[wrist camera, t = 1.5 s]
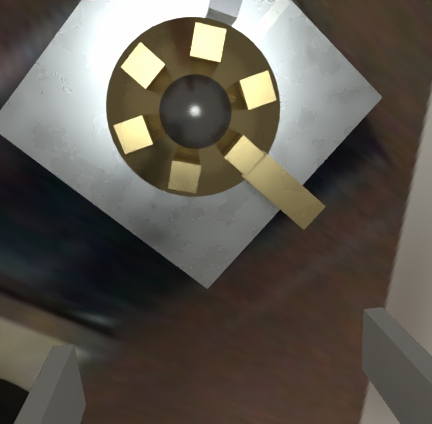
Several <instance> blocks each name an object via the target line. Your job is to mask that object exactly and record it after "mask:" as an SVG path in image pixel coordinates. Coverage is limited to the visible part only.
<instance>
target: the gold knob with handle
mask: <svg viewBox="0 0 432 424" xmlns="http://www.w3.org/2000/svg"><path fill="white" fill-rule="evenodd" d="M106 114H107V122H108V127H109V131H110V134H111V137H112V140H113V142H114V144H115V146H116V148H117V150H118V152H119V154H120V155H121V157H122V158H123V160H124V161H125V163H126V164H127V165H128V166H129V167H130V168H131V170H132V171H133V172H135V173H136V174H137V175H138V176H139V177H140V178H141V179H143V180H144V181H146V182H147V183H149V184H150V185H152V186H154V187H156V188H158V189H160V190H162V191H165V192H168V193H171V194H175V195H179V196H188V197H202V196H209V195H214V194H217V193H221V192H224V191H226V190H228V189H231V188H233V187H235V186H236V185H238V184H240V183H241V182H243V181H244V180H245V179H246V180H247V181H248V182H249V183H250V184H252V185H253V186H254V187H255V188H256V189H257V190H259V191H260V192H261V193H262V194H263V195H264V196H265V197H267V198H268V199H269V200H270V201H271V202H272V203H274V204H275V205H276V206H277V207H278V208H279V209H280V210H282V211H283V212H284V213H285V214H286V215H287V216H289V217H290V218H291V219H292V220H293V221H294V222H295V223H297V224H298V225H299V226H300V227H301V228H302V229H303V230H304V229H305V228H306V227H307V226H308V225H309V224H310V223H311V222H312V221H313V219H314V218H315V217H316V216H317V215H318V214H319V213H320V212H321V211H322V210H323V209H324V208H325V206H324V205H323V204H322V203H321V202H320V201H319V200H318V199H317V198H315V197H314V196H313V195H312V194H311V193H310V192H309V191H308V190H307V189H306V188H304V187H303V186H302V185H301V184H300V183H299V182H298V181H297V180H296V179H294V178H293V177H292V176H291V175H290V174H289V173H288V172H287V171H286V170H285V169H283V168H282V167H281V166H280V165H279V164H278V163H277V162H276V161H275V160H274V159H272V158H271V157H270V156H269V155H268V153H269V151H270V149H271V147H272V145H273V143H274V140H275V137H276V134H277V130H278V126H279V120H280V96H279V90H278V86H277V82H276V79H275V76H274V73H273V71H272V69H271V67H270V65H269V63H268V61H267V59H266V58H265V56H264V55H263V53H262V52H261V51H260V49H259V48H258V47H257V46H256V45H255V44H254V43H253V42H252V41H251V40H250V39H249V38H248V37H247V36H245V35H244V34H243V33H241V32H240V31H238V30H237V29H235V28H234V27H232V26H229V25H227V24H225V23H223V22H220V21H217V20H214V19H209V18H203V17H181V18H174V19H171V20H167V21H164V22H161V23H159V24H157V25H155V26H152V27H151V28H149V29H148V30H146V31H144V32H143V33H141V34H140V35H139V36H138V37H137V38H135V39H134V40H133V41H132V42H131V43H130V44H129V46H128V47H127V48H126V49H125V50H124V52H123V53H122V55H121V56H120V58H119V59H118V61H117V63H116V65H115V67H114V69H113V71H112V74H111V77H110V80H109V84H108V89H107V95H106Z"/></svg>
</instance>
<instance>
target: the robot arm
mask: <svg viewBox="0 0 432 424" xmlns="http://www.w3.org/2000/svg"><path fill="white" fill-rule="evenodd" d="M362 370H363V371H364V372H365V374H366V375H367V377H368V378H369V380H370V381H371V382H372V384H373V385H374V387H375V388H376V390H377V391H378V393H379V394H380V395H381V397H382V398H383V400H384V401H385V403H386V404H387V405H388V407H389V408H390V410H391V411H392V413H393V414H394V415H395V417H396V418H397V420H398V421H399V422H400V424H432V356H431V355H430V354H429V353H428V352H427V351H426V350H425V349H424V348H423V347H422V346H421V345H420V344H419V343H418V342H417V341H416V340H415V339H414V338H413V337H412V336H411V335H410V334H409V333H408V332H407V331H406V330H405V329H404V328H403V327H402V326H401V325H400V324H399V323H398V322H397V321H396V320H395V319H394V318H392V316H391V315H390V314H389V313H388V312H387V311H386V310H385V309H384V308H383V307H380V308H372V309H364V317H363V346H362ZM85 407H86V402H85V397H84V392H83V387H82V382H81V377H80V372H79V367H78V362H77V357H76V352H75V347H74V344H72V345H63V346H55V347H53V348H52V350H51V352H50V353H49V355H48V357H47V359H46V361H45V363H44V365H43V367H42V369H41V371H40V373H39V375H38V377H37V379H36V381H35V383H34V385H33V387H32V389H31V391H30V393H29V394H28V393H27V392H25V391H23V390H22V389H20V388H18V387H16V386H14V385H12V384H10V383H7V382H5V381H2V380H0V424H80V423H81V420H82V417H83V413H84V410H85Z"/></svg>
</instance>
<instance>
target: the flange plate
mask: <svg viewBox="0 0 432 424" xmlns="http://www.w3.org/2000/svg"><path fill="white" fill-rule="evenodd" d="M181 17H203V18H209V19H214V20H217V21H220V22H223V23H225V24H227V25H229V26H232V27H234V28H235V29H237V30H238V31H240V32H241V33H243V34H244V35H245V36H247V37H248V38H249V39H250V40H251V41H252V42H253V43H254V44H255V45H256V46H257V47H258V48H259V49H260V51H261V52H262V53H263V55H264V56H265V58H266V59H267V61H268V63H269V65H270V67H271V69H272V71H273V73H274V76H275V79H276V82H277V86H278V90H279V96H280V120H279V126H278V130H277V134H276V137H275V140H274V143H273V145H272V147H271V149H270V151H269V153H268V155H269V156H270V157H271V158H272V159H274V160H275V161H276V162H277V163H278V164H279V165H280V166H281V167H282V168H283V169H285V170H286V171H287V172H288V173H289V174H290V175H291V176H292V177H293V178H294V179H296V180H297V181H298V182H299V183H300V184H301V185H303V184H304V183H305V182H306V180H307V179H308V178H309V177H310V176H311V175H312V174H313V173H314V172H315V171H316V169H317V168H318V167H319V166H320V165H321V164H322V163H323V162H324V161H325V160H326V159H327V157H328V156H329V155H330V154H331V153H332V152H333V151H334V150H335V149H336V148H337V146H338V145H339V144H340V143H341V142H342V141H343V140H344V139H345V138H346V137H347V136H348V134H349V133H350V132H351V131H352V130H353V129H354V128H355V127H356V126H357V125H358V123H359V122H360V121H361V120H362V119H363V118H364V117H365V116H366V115H367V114H368V113H369V111H370V110H371V109H372V108H373V107H374V106H375V105H376V104H377V103H378V102H379V100H380V99H381V98H382V97H381V95H380V94H379V93H378V92H377V91H376V90H375V89H374V88H373V87H372V86H371V85H370V84H369V83H368V82H367V81H366V80H365V78H364V77H363V76H362V75H361V74H360V73H359V72H358V71H357V70H356V69H355V68H354V67H353V66H352V65H351V64H350V62H349V61H348V60H347V59H346V58H345V57H344V56H343V55H342V54H341V53H340V52H339V51H338V50H337V49H336V48H335V47H334V45H333V44H332V43H331V42H330V41H329V40H328V39H327V38H326V37H325V36H324V35H323V34H322V33H321V32H320V31H319V29H318V28H317V27H316V26H315V25H314V24H313V23H312V22H311V21H310V20H309V19H308V18H307V17H306V16H305V15H304V14H303V12H302V11H301V10H300V9H299V8H298V7H297V6H296V5H295V4H294V3H293V2H292V1H291V0H81V2H80V3H79V5H78V6H77V7H76V9H75V10H74V11H73V13H72V14H71V15H70V17H69V18H68V20H67V21H66V22H65V24H64V25H63V26H62V28H61V29H60V30H59V32H58V33H57V34H56V36H55V37H54V39H53V40H52V41H51V43H50V44H49V45H48V47H47V48H46V49H45V51H44V52H43V53H42V55H41V56H40V58H39V59H38V60H37V62H36V63H35V64H34V66H33V67H32V68H31V70H30V71H29V72H28V74H27V75H26V77H25V78H24V79H23V81H22V82H21V83H20V85H19V86H18V87H17V89H16V90H15V91H14V93H13V94H12V96H11V97H10V98H9V100H8V101H7V102H6V104H5V105H4V106H3V108H2V109H1V110H0V134H1V135H2V136H4V137H5V138H6V139H8V140H9V141H10V142H12V143H13V144H14V145H16V146H17V147H18V148H20V149H21V150H22V151H24V152H25V153H26V154H28V155H29V156H30V157H32V158H33V159H34V160H36V161H37V162H38V163H40V164H41V165H42V166H44V167H45V168H46V169H48V170H49V171H50V172H52V173H53V174H54V175H56V176H57V177H58V178H60V179H61V180H62V181H64V182H65V183H66V184H68V185H69V186H70V187H72V188H73V189H74V190H76V191H77V192H78V193H80V194H81V195H82V196H84V197H85V198H86V199H88V200H89V201H90V202H92V203H93V204H94V205H96V206H97V207H98V208H100V209H101V210H103V211H104V212H105V213H107V214H108V215H109V216H111V217H112V218H113V219H115V220H116V221H117V222H119V223H120V224H121V225H123V226H124V227H125V228H127V229H128V230H129V231H131V232H132V233H133V234H135V235H136V236H137V237H139V238H140V239H141V240H143V241H144V242H145V243H147V244H148V245H149V246H151V247H152V248H153V249H155V250H156V251H157V252H159V253H160V254H161V255H163V256H164V257H165V258H167V259H168V260H169V261H171V262H172V263H173V264H175V265H176V266H177V267H179V268H180V269H181V270H183V271H184V272H185V273H187V274H188V275H189V276H191V277H192V278H193V279H195V280H196V281H197V282H199V283H200V284H201V285H203V286H204V287H206V288H207V289H208V288H209V287H210V286H211V285H212V283H213V282H214V281H215V280H216V279H217V278H218V277H219V276H220V275H221V274H222V272H223V271H224V270H225V269H226V268H227V267H228V266H229V265H230V264H231V263H232V262H233V260H234V259H235V258H236V257H237V256H238V255H239V254H240V253H241V252H242V251H243V249H244V248H245V247H246V246H247V245H248V244H249V243H250V242H251V241H252V240H253V238H254V237H255V236H256V235H257V234H258V233H259V232H260V231H261V230H262V229H263V228H264V226H265V225H266V224H267V223H268V222H269V221H270V220H271V219H272V218H273V217H274V215H275V214H276V213H277V212H278V211H279V210H280V209H279V208H278V207H277V206H276V205H275V204H274V203H272V202H271V201H270V200H269V199H268V198H267V197H265V196H264V195H263V194H262V193H261V192H260V191H259V190H257V189H256V188H255V187H254V186H253V185H252V184H250V183H249V182H248V181H247V180H246V179H245V180H244V181H243V182H241V183H240V184H238V185H236V186H235V187H233V188H231V189H228V190H226V191H224V192H221V193H217V194H214V195H209V196H202V197H188V196H179V195H175V194H171V193H168V192H165V191H162V190H160V189H158V188H156V187H154V186H152V185H150V184H149V183H147V182H146V181H144V180H143V179H141V178H140V177H139V176H138V175H137V174H136V173H135V172H133V171H132V170H131V168H130V167H129V166H128V165H127V164H126V163H125V161H124V160H123V158H122V157H121V155H120V154H119V152H118V150H117V148H116V146H115V144H114V142H113V140H112V137H111V134H110V131H109V127H108V122H107V114H106V95H107V89H108V84H109V80H110V77H111V74H112V71H113V69H114V67H115V65H116V63H117V61H118V59H119V58H120V56H121V55H122V53H123V52H124V50H125V49H126V48H127V47H128V46H129V44H130V43H131V42H132V41H133V40H134V39H135V38H137V37H138V36H139V35H140V34H141V33H143V32H144V31H146V30H148V29H149V28H151V27H152V26H155V25H157V24H159V23H161V22H164V21H167V20H171V19H174V18H181Z"/></svg>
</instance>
